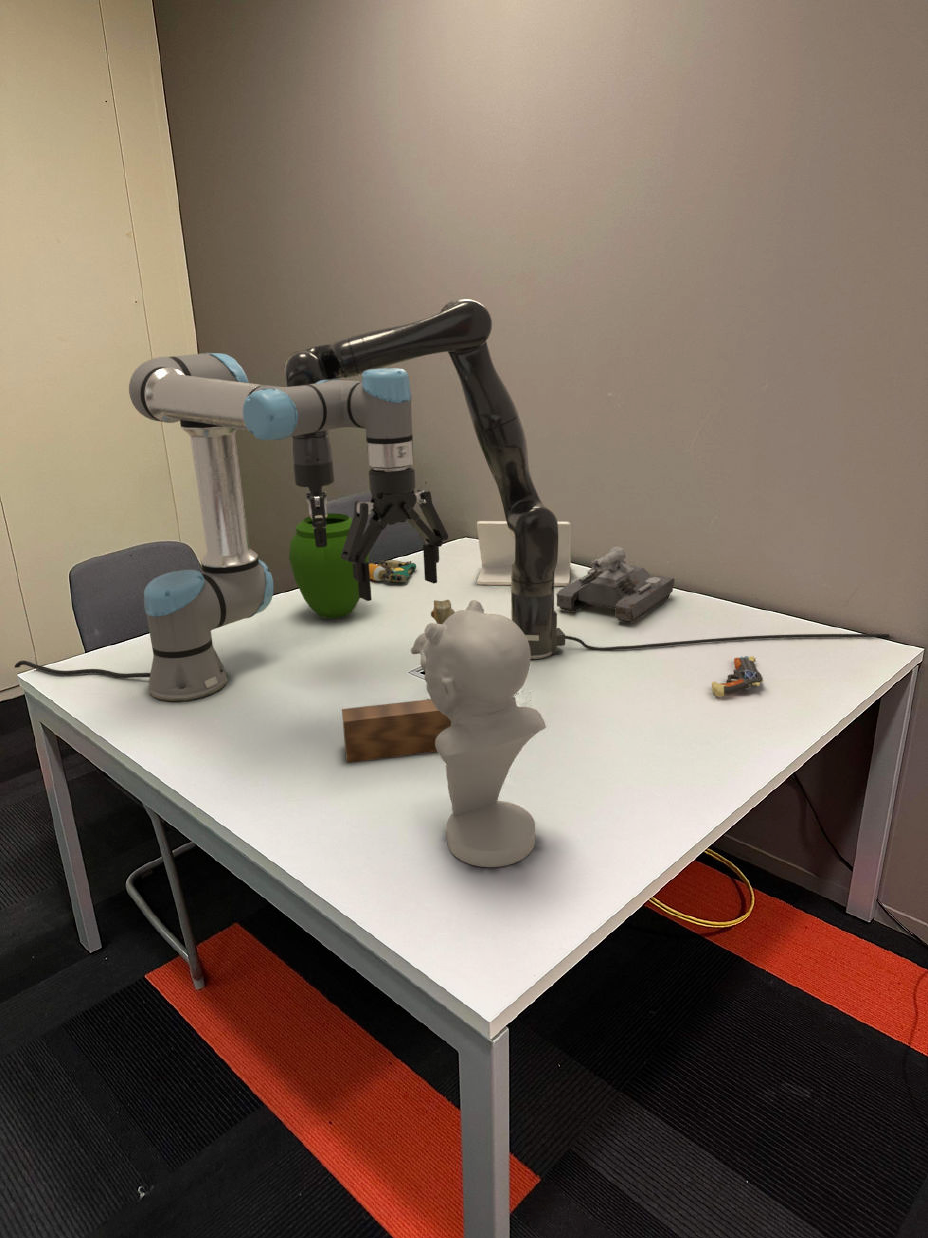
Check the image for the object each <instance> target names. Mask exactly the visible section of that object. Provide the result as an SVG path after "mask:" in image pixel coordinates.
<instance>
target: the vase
mask: <svg viewBox="0 0 928 1238" xmlns="http://www.w3.org/2000/svg"><path fill="white" fill-rule="evenodd" d="M352 520H353V517H350V516H349V515H347V514H344V513H335V512H334V513H333V512H331V513H327V517H326V522H327V526H326V537H327V546H326V547H319V548H318V547H316V543H315V535H314V529H313V527H312V523H313V520H312V519H311V518H310V516H309V515H308V516H307V517H305V518H303V519H302V520H301V521H300V522H299V523H298V524H297V525H296V526H295V532H296V533H295V534H294V536H293V537H292V538H291V540H290V542H289V551H288V559H289V564H290V566H291V567H290V568H291V570H292V575H293V578H294V581H295V584H296V586H297V587H298V589H299V591H300V593H301V596H302V597H303V600H304V601H305V603H306V604H307V605H308V607H309V608H310V609H311V611H312V612H314V613H315V614H316V615H317V616H318V617H320V618H324V619H326V620H327V619H329V620H336V619H341V618H345V617H347V616H349V615H350V614H351V613H352V612H353V611H354V610H355V608H356V607H357V605H358V604H359V601H360V599H361V598H360V597H359V588H358V582H357V581H355V580H354V576H353V564H352V562H348V561H346V560H344V559H342V558H341V553H342V550H343V547H344V544H345V541H346V538H347V535H348V532H349V529H350V526H351V523H352ZM362 536H363V535H362ZM369 559H370V553H369V554H368V556H367V557H366V559H365V562H368V563H369V561H370V560H369Z"/></svg>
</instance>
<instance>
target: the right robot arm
mask: <svg viewBox="0 0 928 1238" xmlns="http://www.w3.org/2000/svg"><path fill="white" fill-rule="evenodd" d="M492 329H493V319H492V317H491V314H490V312H489V311H488V309H487V308H486V307H485V305H483V304H482V303H480V302H479V301H477V300H474V299H471V298H470V299H468V298H461V299H460V298H459V299H453V300H451V301H449V302H448V303H446V304H445V305H444V306H443V307H442V309H440V312H438V313H435V314H434V315H431V316H429V317H427V318H424V319H420V320H418V321H414V322H411V323H406V324H402V325H396V326H391V327H385V328H379V329H375V330H371V331H370V330H369V331H367V332H366V331H365V332H363V333H359V334H356V335H352V336H349V337H345V338H342V339H339V340H337V341H335V342H332V343H327V344H321V345H317V346H312V347H307V348H303V349H300V350H296V351H294V352H292V353H291V354H290V355H289V356H288V357H287V358H286V360H285V362H284V367H283V371H284V376H285V381H286V382H285V383H286V387H292V386H302V385H309V384H316V383H317V382H319V381H322V380H332V379H350V378H355V377H359V376H362V374H363V372H364V371H366V370H370V369H383V368H388V367H392V366H395V365H398V364H401V363H405V362H407V361H411V360H414V359H417V358H421V357H424V356H430V355H435V354H441V353H447V354H448V357H450V360H451V362H452V364H453V366H454V369H455V371H456V373H457V376H458V379H459V382H460V385H461V389H462V392H463V396H464V400H465V404H466V407H467V410H468V413H469V417H470V419H471V423H472V426H473V429H474V433H475V435H476V438H477V441H478V444H479V446H480V449H481V451H482V453H483V457H484V458H485V461H486V463H487V466H488V468H489V471H490V473H491V476H492V477H493V479H494V481H495V483H496V486H497V489H498V492H499V496H500V500H501V504H502V508H503V512H504V516H505V521H506V522H507V526H508V529H509V531H510V533H511V535H512V536H513V537H514V538H515V561H514V563H513V564H512V566H511V585H510V588H511V589H510V597H511V599H510V603H511V604H510V606H511V607H510V609H511V610H510V615H511V617H510V619H511V620H512V621H513V622H514V623H515V624H516V625H517V626H518V627H519V628H520V629H521V630H522V632H523V633H524V634H525V636H526V638H527V640H528V643H529V646H530V652H531V653H530V655H531V656H530V660H540V659H545V658H548V657H550V656H552V655H557V654H558V653H557V650H558V649H557V648H558V647H562V646H566V640H570V641H574V642H577V643H579V644H580V645H581V646H583V647H584V648H585V649H588V650H590V651H591V650H592V651H601V652H602V651H604V652H605V651H618V650H636V649H647V648H659V647H669V646H679V645H692V644H694V645H695V644H703V643H705V644H706V643H715V642H716V643H717V642H730V641H731V642H732V641H747V640H765V639H768V640H769V639H794V638H795V639H796V638H797V639H798V638H890V633H803V634H801V633H800V634H799V633H798V634H796V633H795V634H767V635H766V634H765V635H748V636H747V635H746V636H731V637H717V638H705V639H703V638H702V639H694V640H693V639H692V640H682V641H680V640H679V641H671V642H670V641H669V642H658V643H647V644H646V643H645V644H636V645H619V646H607V647H606V646H605V647H597V646H592V645H588V644H587V643H585V642H584V641H583V640H582V639H580V638H578V637H574V636H571V635H566V634H565V632H564V631H562V629H561V628H560V627H558V613H557V612H556V611H555V586H554V571H555V568H556V565H557V559H558V538H559V530H558V522H559V521H558V518H557V516H556V515H555V513H554V512H553V511H552V510H551V509H550V508H548V507H547V506H545V505H544V503H543V502H542V500H541V498H540V496H539V493H538V492H537V489H536V486H535V484H534V482H533V478H532V475H531V471H530V467H529V453H528V444H527V438H526V434H525V430H524V427H523V425H522V422H521V418H520V415H519V412H518V409H517V406H516V404H515V403H514V401H513V399H512V396H511V395H510V392H509V391H508V389H507V387H506V386H505V384H504V382H503V381H502V379H501V377H500V375H499V373H498V372H497V369H496V367H495V365H494V363H493V359H492V357H491V353H490V350H489V346H488V342H487V340H488V339H489V337H490V335H491V333H492ZM329 431H330V430H325V431H319V432H313V433H307V434H302V435H296V436H291V456H292V466H293V475H294V483H295V485H296V486H297V487H300V488H308V492H306V493H305V498H306V499H305V500H306V505H307V506H308V517H309V516H310V518H311V519H312V520H313V523H312V527H313V529H314V535H315V543H316V547H318V548H319V547H326V546H327V537H326V526H327V522H326V517H327V514H328V506H327V504H328V497H327V496H328V495H327V491H323V490H322V489H323V487H324V486H325V487H327V486H330V485H332V484H334V482H335V474H334V473H335V472H334V462H333V451H332V449H333V448H332V443H331V439H330V432H329Z"/></svg>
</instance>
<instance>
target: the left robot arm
mask: <svg viewBox="0 0 928 1238" xmlns="http://www.w3.org/2000/svg"><path fill="white" fill-rule="evenodd" d="M128 395H129V398H130V400H131V403H132V405H133V407H134V408H135V409H136V411H137V412H138V413H139V414H140V415H141V416H143V417H144V418H147V419H149V420H151V421H155V422H162V423H167V424H174V423H175V424H176V423H179V424H180V429H181V430H183V431H184V432H185V433H187V434H188V436H189V437H190V445H191V452H192V458H193V465H194V471H195V479H196V484H197V486H196V487H197V493H198V501H199V505H200V512H201V520H202V527H203V533H204V541H205V547H206V553H205V555H204V556H202V558H201V559H200V566H201V572H200V570H196V569H189V568H188V569H179V570H177V571H176V570H173V571H170V572H166V573H163V574H161V575H159V576H157V577H155V578H153V579H151V581H149V582H148V583H147V584H146V586H145V588H144V590H143V602H144V607H143V609H144V612H145V615H146V621H147V626H148V631H149V636H150V643H151V648H152V654H153V655H152V661H151V668H150V672H129V673H122V672H121V673H120V672H114V671H110V670H106V669H101V668H84V669H72V670H71V669H70V670H61V669H60V670H59V669H54V668H51V667H47V666H44V665H40V664H36V663H34V662H32V661H31V662H30V661H29V660H19V661H18V662H16V663H15V665H14V669H16V668H20V667H21V666H27V667H30V668H32V669H35V670H39V671H43V672H46V673H49V674H54V675H58V676H72V675H73V676H74V675H84V674H100V675H101V674H102V675H106V676H109V677H113V678H120V679H131V678H132V679H133V678H134V679H135V678H149V679H148V688H149V694H150V695H151V696H152V697H153V698H156V699H157V700H161V701H166V702H186V701H193V700H197V699H202V698H204V697H208V696H211V695H212V694H214V693H217V692H218V691H219V690H221V689H223V688H224V687H225V685H227V682H228V679H227V672H226V668H225V667H224V665H223V663H222V661H221V659H220V657H219V654H218V653H217V651H216V649H215V647H214V644H213V637H212V631H213V630H216V629H218V628H222V627H226V626H227V625H230V624H233V623H236V622H239V621H242V620H245V619H250V618H253V617H254V616H255V615H257V614H259V613H262V612H264V611H265V610H266V609H267V608H268V607H269V605H270V604H271V603H272V600H273V597H274V589H275V588H274V579H273V575H272V573H271V572H270V571H269V567H268V565H267V564H266V563H265V562H264V561H262V560H261V559H259V554H258V553H257V552H256V551H254V550H252V549H251V547H250V541H249V533H248V525H247V516H246V512H245V511H246V509H245V502H244V493H243V487H242V477H241V470H240V462H239V455H238V445H237V440H236V439H237V437H236V432H237V431H238V430H242V431H248V432H249V433H250V434H252V435H253V436H254V438H256V439H257V440H260V441H271V440H272V441H278V440H279V441H280V440H283V439H287V438H290V437H291V438H292V436H296V435H302V434H307V433H313V432H319V431H325V430H328V431H331V430H337V429H342V428H356V429H357V428H358V429H365V440H366V451H367V452H366V453H367V465H368V466H369V467H370V469H369V470H368V481H369V483H368V484H369V490H370V494H371V499H370V501H360V500H356V501H354V506H353V517H352V519H353V520H352V523H351V526H350V529H349V532H348V535H347V538H346V541H345V544H344V547H343V550H342V553H341V558H342V559H344V560H346V561H348V562H352V564H353V576H354V580H355V581H357V582H358V588H359V597H360V599H362V600H364V601H366V602H371V601H372V587H371V579H370V573H369V564H370V563H369V562H365V559H366V557H367V556H368V554H369V555H370V552H371V550H372V549H373V547H374V545H375V544H376V542H377V540H378V538H379V537H380V535H381V533H382V531H384V530H385V529H386V528H387V526H388V525H389V526H392V525H393V526H394V525H396V524H397V523H406V521H407V522H408V523H409V524H410V525H411V526H412V528H413V529H414V530H415V531H416V532H417V533H418V534H419V535H420V536H421V538H422V539H423V540H425V542H426V543H425V544H422V549H423V551H422V552H423V570H424V581H426V582H428V583H431V584H433V585H434V584H437V583H438V571H437V570H438V569H437V568H438V567H437V564H438V563H439V562H440V547H442V546H443V544H444V541H447V540H448V539H449V534H448V532H447V530H446V528H445V526H444V524H443V522H442V520H441V518H440V516H439V514H438V512H437V510H436V508H435V506H434V503H433V498H432V493H431V491H429V490H426V489H421V488H419V489H418V490H416V492H415V489H416V471H415V470H416V469H415V468H414V467H413V466H412V465H413V464H414V463H415V458H414V457H415V456H414V440H413V437H414V435H413V422H412V421H413V419H412V399H413V395H412V392H411V385H410V376H409V374H408V372H407V371H406V370H405V369H403V368H399V367H397V368H396V367H395V368H394V367H393V368H388V367H386V368H383V369H370V370H366V371H364V372H363V374H362V375H361V381H360V380H347V379H346V380H344V379H341V378H339V379H332V380H322V381H319V382H317V383H316V384H309V385H302V386H292V387H287V386H275V385H267V384H261V383H260V384H259V383H251V382H249V378H248V377H247V374H246V372H245V370H244V369H243V367H242V366H241V365H240V364H239V362H238V361H237V360H236V359H235V358H233V356H230V355H229V354H226V353H219V352H218V353H215V352H203V353H192V354H185V355H174V356H157V357H154V358H150V359H148V360H147V361H144V362H142V363H141V364H140V365H139V366H138V367H137V368H135V370H134V371H133V373H132V375H131V376H130V380H129V383H128ZM416 503H417V504H418V505H419V508H420V510H421V512H422V514H423V516H424V518H425V520H426V522H427V524H428V525H429V526H428V525H427V524H426V522H424V520H422V519H421V516H420V515H419V514H418V512H417V511H416V510H415V509H414V508H415V506H416ZM372 512H373V513H372ZM371 513H372V515H371ZM370 515H371V517H370V519H369V516H370ZM367 523H368V526H367ZM366 526H367V527H366ZM429 527H430V528H429ZM362 535H363V536H362Z"/></svg>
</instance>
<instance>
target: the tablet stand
mask: <svg viewBox="0 0 928 1238" xmlns="http://www.w3.org/2000/svg"><path fill="white" fill-rule="evenodd" d="M557 522H558V530H559V538H558V559H557V565H556V568H555V571H554V587H556V586H557V587H566V586H567V585H569V584H570V580H571V579H570V578H571V565H572V564H571V560H572V558H571V522H569V521H557ZM476 531H477V537H478V544H479V551H480V557H481V558H480V559H481V570H480V573H479V575H478V577H477V580H476V581H477V582H476V584H478V585H484V586H485V585H486V586H487V585H489V586H490V585H491V586H511V566H512V564H513V563H514V561H515V538H514V537H513V536H512V535H511V533H510V531H509V529H508V526H507V522H506V520H505V521H504V520H477V522H476Z"/></svg>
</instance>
